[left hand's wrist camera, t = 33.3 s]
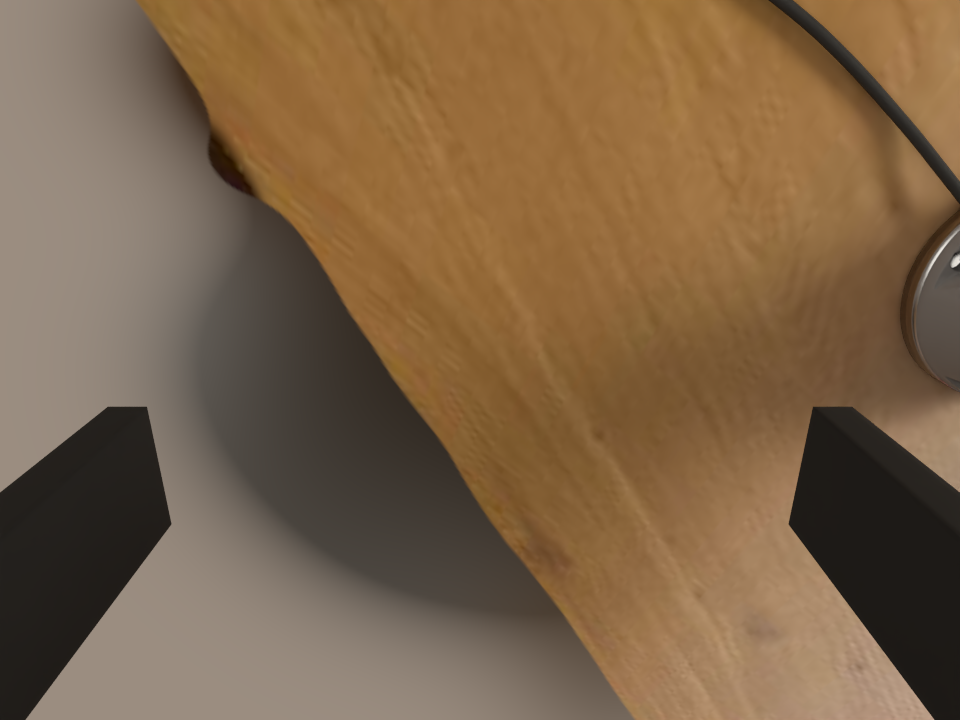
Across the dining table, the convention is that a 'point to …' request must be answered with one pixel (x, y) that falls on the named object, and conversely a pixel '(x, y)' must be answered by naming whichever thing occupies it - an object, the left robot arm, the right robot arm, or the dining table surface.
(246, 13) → the dining table surface
